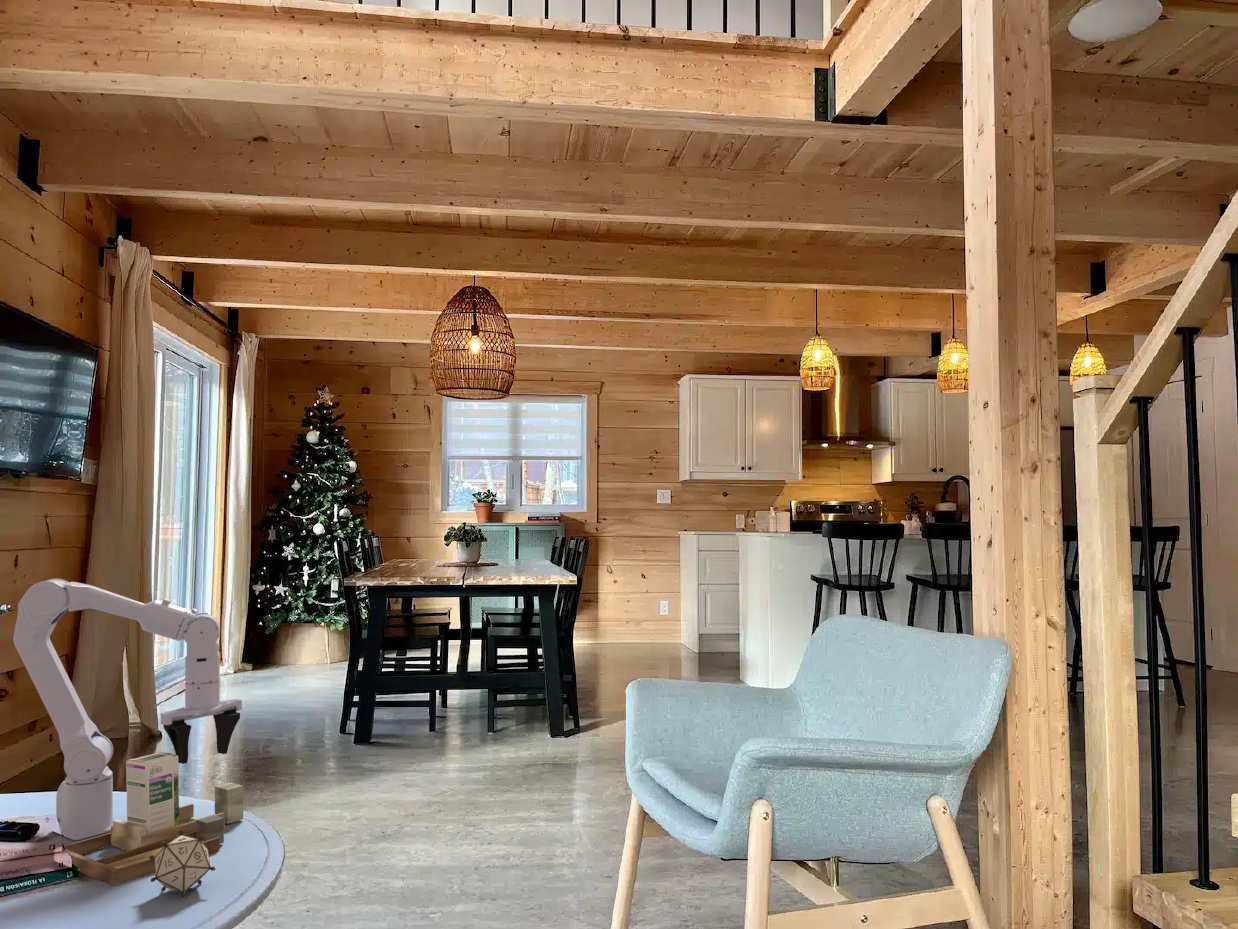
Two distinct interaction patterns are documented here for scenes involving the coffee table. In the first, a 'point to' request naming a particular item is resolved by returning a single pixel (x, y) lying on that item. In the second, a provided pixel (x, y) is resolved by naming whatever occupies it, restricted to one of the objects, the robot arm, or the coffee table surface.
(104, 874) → the lane board
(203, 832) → the wooden bar
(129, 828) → the wooden slotted tray
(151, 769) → the syrup box
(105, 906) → the coffee table surface
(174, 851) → the game die
